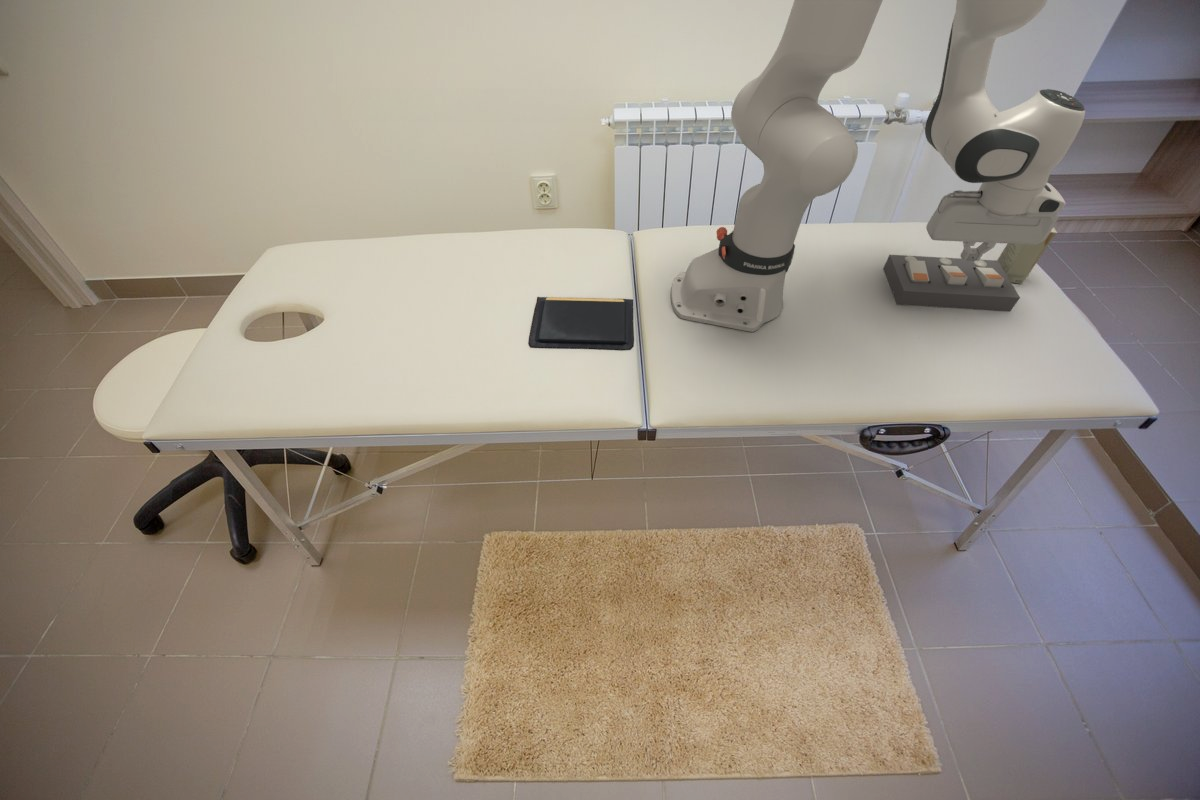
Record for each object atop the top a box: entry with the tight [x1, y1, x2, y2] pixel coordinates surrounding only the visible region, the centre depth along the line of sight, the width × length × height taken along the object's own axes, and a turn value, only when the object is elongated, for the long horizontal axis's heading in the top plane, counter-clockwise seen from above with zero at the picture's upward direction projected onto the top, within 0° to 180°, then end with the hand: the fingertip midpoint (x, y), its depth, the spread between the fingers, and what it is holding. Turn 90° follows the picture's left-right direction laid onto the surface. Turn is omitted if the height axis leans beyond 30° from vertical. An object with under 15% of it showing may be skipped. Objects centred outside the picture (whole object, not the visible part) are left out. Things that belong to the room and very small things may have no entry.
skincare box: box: [997, 226, 1058, 284], centre depth 116 cm, size 6×4×12 cm
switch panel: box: [882, 254, 1021, 312], centre depth 116 cm, size 22×12×4 cm, turn 85°
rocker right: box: [975, 267, 1004, 287], centre depth 114 cm, size 3×5×2 cm, turn 175°
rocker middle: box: [940, 265, 968, 285], centre depth 115 cm, size 3×5×2 cm, turn 175°
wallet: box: [528, 296, 635, 352], centre depth 110 cm, size 20×2×15 cm
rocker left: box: [905, 260, 929, 283], centre depth 115 cm, size 3×5×2 cm, turn 175°
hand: (969, 258), depth 110 cm, fingers closed
